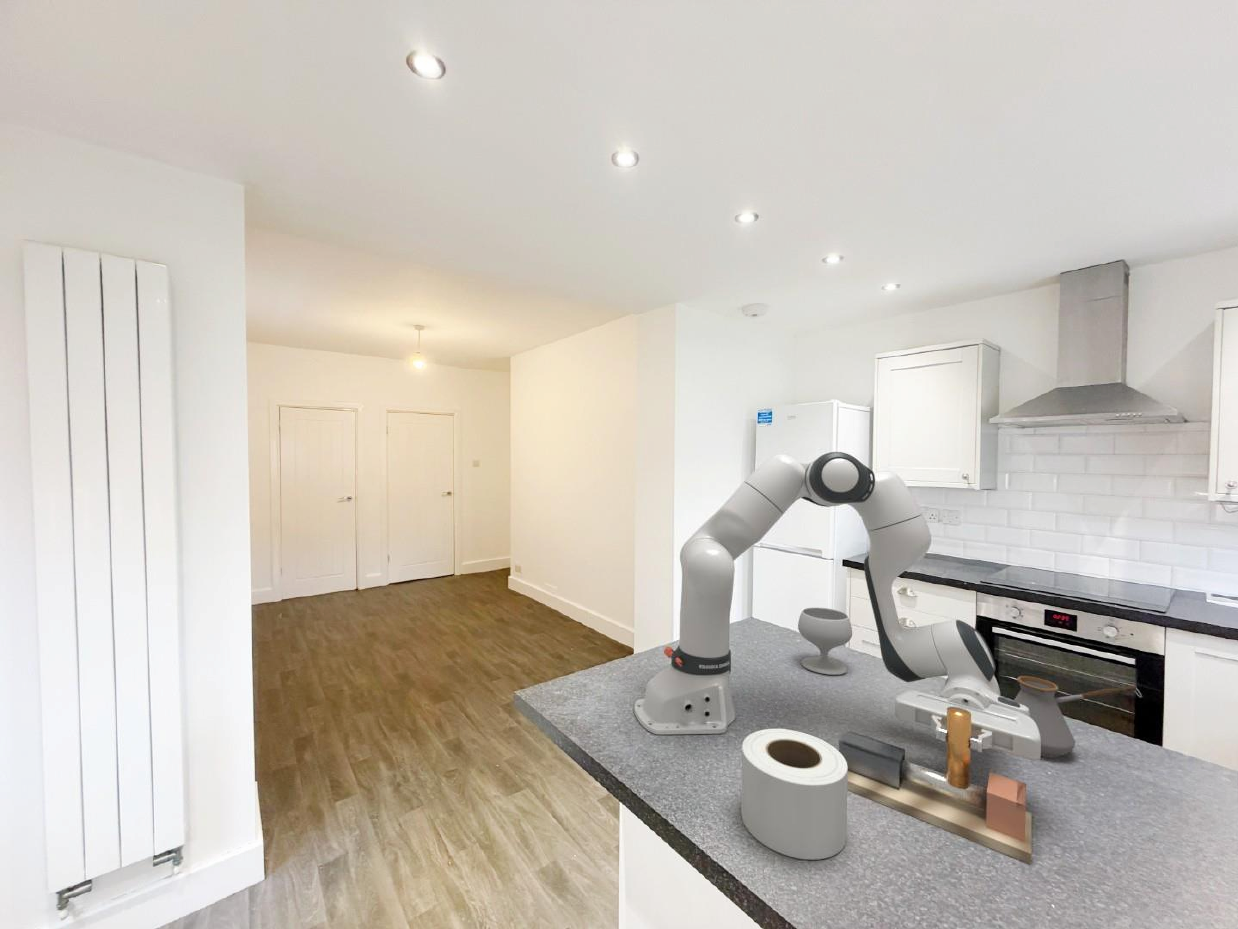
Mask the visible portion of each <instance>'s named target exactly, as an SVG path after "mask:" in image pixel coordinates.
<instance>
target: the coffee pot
mask: <svg viewBox="0 0 1238 929" xmlns="http://www.w3.org/2000/svg"><path fill="white" fill-rule="evenodd" d="M1016 681H1017V683H1019V687H1020V690H1019V691H1018V694H1017V695H1016V697H1014V699H1013V701H1014V702H1016V703H1019V704H1021V705H1024V706H1026V707H1028V709H1029V713H1030V718H1032V719H1033V720H1034V721H1035V723H1036V724H1037V727H1038V729H1039V732H1040V738H1041V757H1044V758H1045V757H1046V758H1060V757H1062V756H1063V755H1066V754H1068V753H1070V752H1071V751H1072V750H1074V748H1075V746H1076V741H1075V738H1074V736H1073V734H1072V731H1071V730H1070V728H1069V726H1068V723H1067V722H1066V720H1065V717H1064V715H1063V713H1062V711H1061V709H1060V707H1059V705H1058V704H1061V703H1067V702H1071V701H1077V700H1083V699H1093V698H1102V697H1103V698H1104V697H1110V696H1113V695H1116V694H1120V693H1121V694H1125V693H1126V692H1134V693H1135V694H1136V696H1138V697H1139V698H1143V695H1142V693H1141V692H1140V690H1139V689H1138V688H1137V686H1136V685H1128V686H1125V687H1123V686H1118V687H1117V688H1116V687H1115V688H1103V689H1098V690H1093V691H1090V692H1085V693H1081V694H1073V695H1067V696H1060V697H1059V696H1058V697H1055V694H1056V692H1058V691H1059V686H1058V685H1057V684H1055V683H1054V682H1052V681H1050V680H1046V679H1042V678H1039V677H1034V676H1027V675H1023V676H1022V675H1021V676H1018V677H1017V678H1016Z"/></svg>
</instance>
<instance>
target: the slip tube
mask: <svg viewBox="0 0 1238 929" xmlns="http://www.w3.org/2000/svg"><path fill="white" fill-rule="evenodd" d="M970 738H971V713H970V712H969V711H967V710H965V709H962V708H958V707H948V708H947V741H946V755H945V756H946V757H945V758H946V759H945V760H946V761H945V764H946V765H945V773H942V772H939V771H936V770H935V769H930V768H928V767H924V766H921V765H919V764H917V763H912V762H910V761H907V760H906V759H905V760H901V762H900V779H902V780H905V781H907V782H910V783H913V784H915V785H918V786H921V787H924V788H926V789H929V790H932V791H934V792H937V793H940V794H942V795H945V796H948V797H951V798H953V799H956V800H959V801H961V802H964V803H967V804H969V805H972V806H975V807H978V808H980V809H983V810H986V811H987V788H986V787H982V786H979V785H976V784H974V783H971V761H972V760H971V756H972V753H971V752H972V751H971V750H972V749H970V745H971V743H970Z"/></svg>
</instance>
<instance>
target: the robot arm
mask: <svg viewBox="0 0 1238 929" xmlns="http://www.w3.org/2000/svg"><path fill="white" fill-rule="evenodd" d="M757 467H758V468H755V470H754V471H753V472H752V473H751V474H750V475H749V476H748V477H747V478H746V479H744V481H743V482H742V483H741V485H740V486H739V487H738V488H737V489H736V490H735V492H734V493H733V494H732V495H731V496H730V497H729V498H728V499H727V500H726V501H725V503H724V504H722V506H721V507H720V508H719V509H718V510H717V511H716V512H715V513H713V515H712V516H711V517H709V519H707V520H706V521H705V522H704V523H703V524H702V525H701V526H700V527H699V528H698V529H697V530H696V531H695V532H694V533H693V534H692V535H691V536H690V537H689V538H688V540H686V541H685V543H684V544H683V545H682V547H681V550H680V554H679V561H680V567H681V591H680V592H681V593H680V596H681V597H680V610H679V644H678V645H677V648H676V649H675V650H674V649H673V648H672V647H671V646H665V648H664V649H663V653H664V654H665V656H667V657H668V659H670V660H671V663H670V664H668V666H667V665H666V667H665V668H664V669H662V670H661V671H660V672H659V673H657V674H656V675H654V676H653V677H652V678H651V679H650V680H649V681H648V682H647V684H646V686H645V691H644V696H643V697H644V698H639V699H637V700H636V701H635V702H634V708H633V712H634V716H635V717H636V719H637V721H638V722H639V723H640V725H641V726H642V727H643V728H644V729H645V730H647V731H649V732H650V733H652V734H654V735H700V734H701V735H704V734H706V735H707V734H710V735H711V734H712V735H713V734H725V733H726V732H727V729H728V726H729V725H730V724H731V723H733V722H734V720H735V719H736V711H735V707H734V703H733V697H732V690H731V678H730V674H731V671H732V651H731V649H730V625H731V623H730V622H731V621H730V620H731V619H730V616H731V611H732V610H731V609H732V602H733V595H734V594H733V593H734V585H735V584H734V583H735V582H734V581H735V562H734V561H736V560H737V559H738V558H739V557H740V556H742V554H743V553H745V552H746V551H747V550H749V549H750V548H751V547H752V546H754V545H756V544H758V543H759V542H760V541H761V540H762V539H763V537H765V535H766V534H768V533H769V531H770V530H771V529H772V528H773V526H775V524H776V523H777V522H778V521H779V520H780V519H781V518H782V517H783V515H784V514H785V513H786V512H787V511H788V510H789V508H790V507H791V506H792V505H794V503H796V501H798V500H800V499H802V500H805V501H808V502H810V503H812V504H814V505H816V506H820V507H826V508H829V507H837V506H842V505H847V506H850V507H852V508H853V509H854V510H855V511H856V512H857V514H858V515H859V516H860V517H861V520H862V522H863V525H864V527H865V530H866V531H867V534H868V538H869V543H870V546H869V547H870V549H869V554H868V555H867V556H866V557H865V558H864V560H863V569H864V570H863V571H864V577H865V582H866V587H867V591H868V596H869V600H870V604H871V608H872V612H873V616H874V621H875V624H876V628H877V629H876V630H877V634H878V640H879V641H878V642H879V647H880V654H881V658H882V662H883V664H884V667H885V668H886V670H887V672H888V673H890V674H891V675H893V676H894V677H896V678H898V679H899V680H902V682H905V683H912V682H916V681H922V680H926V679H928V678H939V677H945V676H946V680H945V681H944V684H943V687H942V688H941V691H940V693H939V695H936V694H935V695H934V694H932V693H927V692H924V691H919V690H915V689H906V690H903V691H902V692H901V693H900V694H898V695H897V696H896V698H895V700H894V715H895V717H896V718H897V719H898V720H899V721H901V722H904V723H908V724H911V725H915V726H918V727H922V728H924V729H928V730H931V731H932V732H933V733H934V735H935V739H936V740H939V741H940V740H941V741H944V742H947V708H948V707H958V708H962V709H965V710H967V711H969V712H970V713H971V738H970V743H971V745H970V749H971V750H973V751H975V752H979V753H983V750H986V749H994V750H997V751H1001V752H1003V753H1007V754H1010V755H1013V756H1017V757H1020V758H1023V759H1027V760H1029V761H1040V760H1041V757H1042V756H1041V738H1040V732H1039V729H1038V727H1037V724H1036V723H1035V721H1034V720H1033V719H1032V718H1030V713H1029V709H1028V707H1026V706H1024V705H1021V704H1019V703H1016V702H1014V700H1011V699H1008V698H1005V697H1003V696H1001V690H1000V686H999V683H998V681H997V678H996V677H995V672H996V661H995V660H994V657H993V653H992V650H991V649H990V646H989V645H988V643H987V642H986V639H985V638H984V636H983V635H982V633H981V632H980V631H979V630H977V629H976V628H975V627H974V626H971V625H970V624H968V623H966V622H965V621H962V620H960V619H955V620H948V621H943V622H935V623H932V624H928V625H923V626H916V627H911V628H906V627H902V625H901V624H900V619H899V616H898V611H897V607H896V604H895V600H894V595H893V590H892V588H893V584H894V581H895V580H896V579H898V577H899V576H900V575H902V574H903V573H904V572H906V571H907V570H908V569H910V568H912V567H913V566H914V565H916V564H917V563H918V562H919V561H921V559H923V558H924V556H926V554H927V553H928V551H929V549H930V546H931V543H932V535H931V530H930V529H929V528H930V527H929V526H928V525H929V524H928V522H927V520H926V518H925V515H924V514H923V511H922V510H921V508H920V506H919V504H918V502H917V501H916V499H915V497H914V495H913V494H912V492H911V490H910V489H909V488H908V487H907V485H906V483H905V482H904V481H903V479H902V478H901V477H900V476H899V475H898V474H897V473H895V472H892V471H883V470H881V471H880V470H879V471H873V470H872V469H871V468H869V467H867V466H866V465H865V464H864V463H862V462H861V461H860V460H858V459H857V458H856V457H854V456H853V455H851V454H849V453H846V452H842V451H831V452H828V453H825V454H822V455H820V456H819V457H818V458H816V459H814V460H813V461H811V462H809V463H804V462H800V461H799V460H797V459H796V458H795V457H793V456H791V455H788V454H785V453H784V454H783V453H779V454H775V455H772V456H771V457H770V458H768V459H767V460H766V461H764V462H762V464H760V465H759V466H757Z"/></svg>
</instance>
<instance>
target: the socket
mask: <svg viewBox="0 0 1238 929" xmlns="http://www.w3.org/2000/svg"><path fill="white" fill-rule="evenodd" d="M987 782H988V783H987V788H986V789H987V815H986V827H987V828H989V829H992V830H994V831H997V832H999V833H1002V834H1005V835H1007V836H1010V837H1012V838H1015V839H1017V840H1020V841H1023V842H1025V820H1026V811H1027V810H1026V809H1027V808H1026V806H1027V804H1026V803H1027V783H1025V782H1021V781H1019V780H1015V779H1013V778H1009V777H1006V776H1003V775H1000V774H997V773H994V772H992V771H989V775H988V781H987Z"/></svg>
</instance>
